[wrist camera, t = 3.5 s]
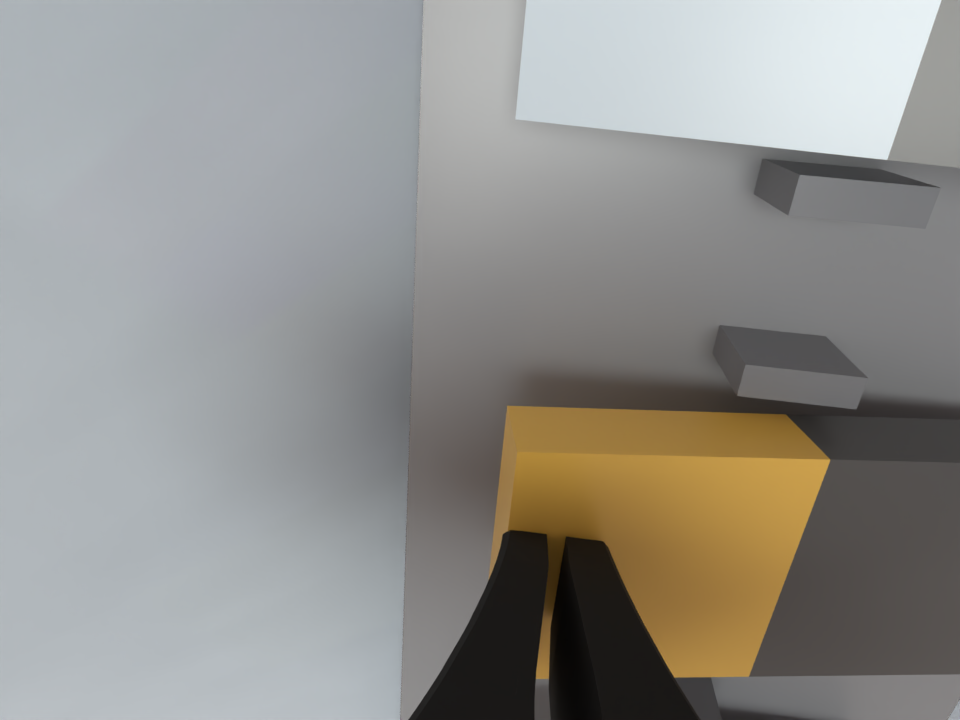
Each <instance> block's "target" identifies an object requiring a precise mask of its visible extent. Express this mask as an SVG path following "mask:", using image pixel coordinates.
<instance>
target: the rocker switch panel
mask: <svg viewBox="0 0 960 720" xmlns="http://www.w3.org/2000/svg"><path fill="white" fill-rule="evenodd" d="M525 10H526V0H423V29H422V60H421V91H420V122H419V153H418V184H417V215H416V246H415V277H414V308H413V339H412V370H411V401H410V432H409V463H408V494H407V525H406V556H405V587H404V618H403V649H402V680H401V711H400V720H408V719H409V718H410V717H411V715H412V714H413V712H414V711H415V709H416V708H417V707H418V705H419V704H420V702H421V701H422V699H423V698H424V696H425V695H426V693H427V692H428V690H429V689H430V687H431V686H432V684H433V682H434V681H435V679H436V678H437V676H438V675H439V673H440V671H441V670H442V668H443V666H444V665H445V663H446V661H447V659H448V658H449V656H450V654H451V653H452V651H453V649H454V647H455V646H456V644H457V642H458V641H459V639H460V637H461V635H462V634H463V632H464V630H465V628H466V626H467V624H468V623H469V621H470V619H471V616H472V614H473V612H474V610H475V608H476V606H477V604H478V602H479V600H480V598H481V596H482V594H483V592H484V590H485V588H486V585H487V583H488V578H489V569H490V560H491V551H492V541H493V532H494V523H495V514H496V504H497V495H498V486H499V477H500V467H501V458H502V449H503V440H504V430H505V421H506V412H507V406H533V407H565V408H597V409H629V410H661V411H694V412H726V413H758V414H790V415H822V416H854V417H886V418H918V419H950V420H960V168H955V167H946V166H937V165H928V164H919V163H910V162H901V161H891V160H882V159H873V158H864V157H855V156H846V155H837V154H827V153H818V152H809V151H800V150H791V149H782V148H773V147H763V146H754V145H745V144H736V143H727V142H718V141H709V140H699V139H690V138H681V137H672V136H663V135H654V134H644V133H635V132H626V131H617V130H608V129H599V128H590V127H580V126H571V125H562V124H553V123H544V122H535V121H526V120H516V119H515V117H516V107H517V96H518V85H519V75H520V64H521V53H522V43H523V32H524V21H525ZM675 680H676V681H677V683H678V685H679V686H680V688H681V689H682V691H683V693H684V694H685V696H686V697H687V699H688V701H689V702H690V704H691V705H692V707H693V709H694V710H695V712H696V713H697V715H698V716H699V718H700V719H701V720H948V718H949V716H950V715H951V713H952V711H953V710H954V708H955V706H956V705H957V703H958V701H959V700H960V674H952V675H860V676H768V677H676V678H675ZM535 720H551V717H550V702H549V679H536V684H535Z"/></svg>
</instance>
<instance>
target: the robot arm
mask: <svg viewBox="0 0 960 720" xmlns="http://www.w3.org/2000/svg"><path fill="white" fill-rule="evenodd" d="M548 569H549V560H548V544H547V534H542V533H534V532H527V531H517V530H510V531H507V532H505V533H504V534H503V535H502V541H501V546H500V550H499V553H498V557H497V560H496V563H495V565H494V568H493V571H492V573H491V576H490V578H489V580H488V583H487V585H486V588H485V590H484V592H483V594H482V596H481V598H480V600H479V602H478V604H477V606H476V608H475V610H474V612H473V614H472V616H471V619H470V621H469V623H468V624H467V626H466V628H465V630H464V632H463V634H462V635H461V637H460V639H459V641H458V642H457V644H456V646H455V647H454V649H453V651H452V653H451V654H450V656H449V658H448V659H447V661H446V663H445V665H444V666H443V668H442V670H441V671H440V673H439V675H438V676H437V678H436V679H435V681H434V682H433V684H432V686H431V687H430V689H429V690H428V692H427V693H426V695H425V696H424V698H423V699H422V701H421V702H420V704H419V705H418V707H417V708H416V709H415V711H414V712H413V714H412V715H411V717H410V718H409V719H408V720H535V684H536V670H537V661H538V653H539V644H540V636H541V628H542V619H543V611H544V603H545V594H546V586H547V577H548ZM549 702H550V717H551V720H701V719H700V718H699V716H698V715H697V713H696V712H695V710H694V709H693V707H692V705H691V704H690V702H689V701H688V699H687V697H686V696H685V694H684V693H683V691H682V689H681V688H680V686H679V685H678V683H677V681H676V680H675V678H674V676H673V675H672V673H671V671H670V669H669V668H668V666H667V664H666V663H665V661H664V659H663V657H662V656H661V654H660V652H659V650H658V648H657V647H656V645H655V643H654V641H653V639H652V638H651V636H650V634H649V632H648V630H647V628H646V627H645V625H644V623H643V621H642V619H641V617H640V615H639V613H638V611H637V609H636V607H635V605H634V603H633V601H632V599H631V597H630V595H629V593H628V591H627V589H626V587H625V585H624V583H623V580H622V578H621V576H620V574H619V572H618V569H617V567H616V565H615V562H614V560H613V558H612V555H611V553H610V550H609V548H608V546H607V545H606V544H605V543H604V542H603V541H598V540H590V539H582V538H574V537H566V539H565V545H564V551H563V557H562V562H561V568H560V574H559V580H558V586H557V592H556V597H555V603H554V609H553V615H552V621H551V627H550V656H549Z"/></svg>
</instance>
